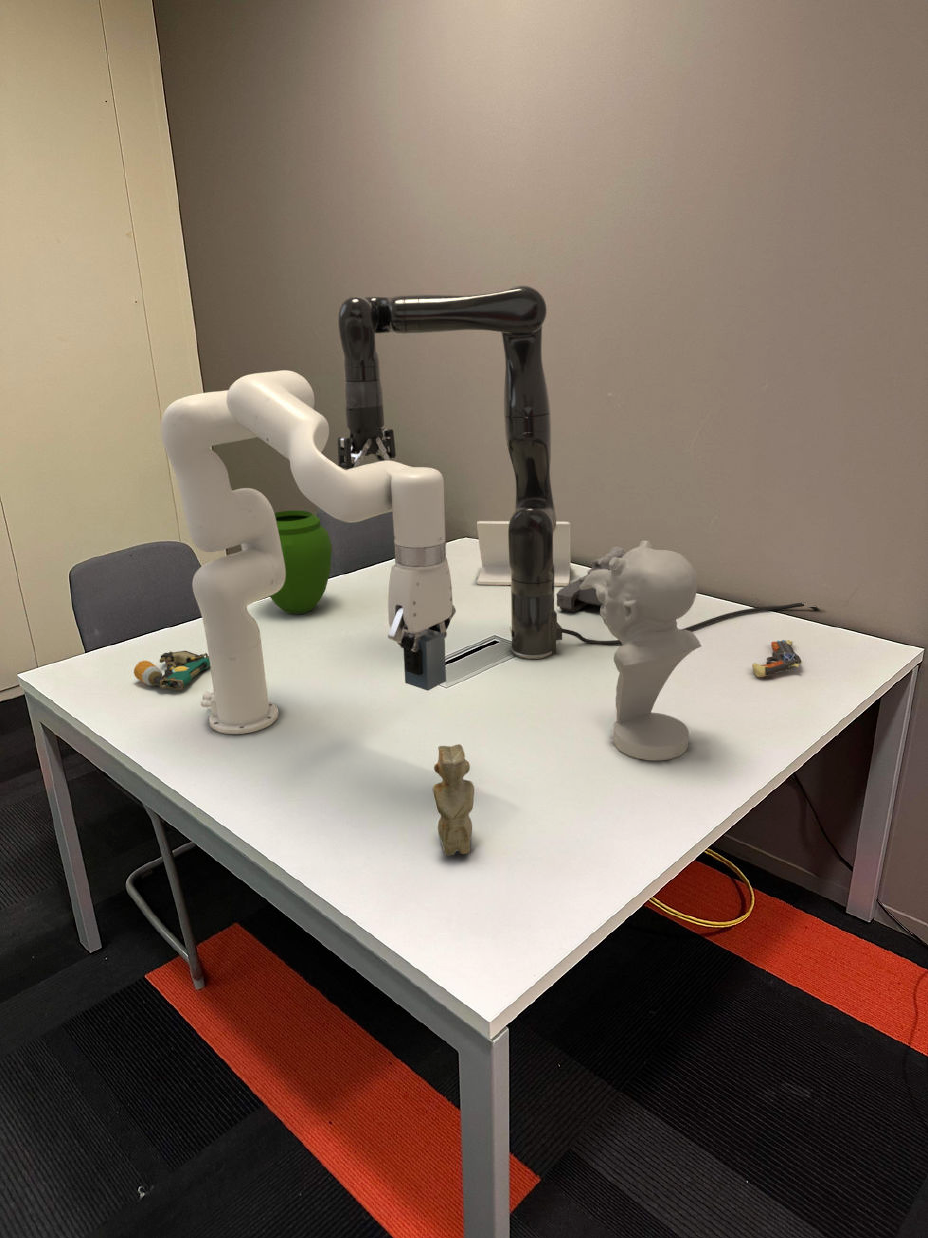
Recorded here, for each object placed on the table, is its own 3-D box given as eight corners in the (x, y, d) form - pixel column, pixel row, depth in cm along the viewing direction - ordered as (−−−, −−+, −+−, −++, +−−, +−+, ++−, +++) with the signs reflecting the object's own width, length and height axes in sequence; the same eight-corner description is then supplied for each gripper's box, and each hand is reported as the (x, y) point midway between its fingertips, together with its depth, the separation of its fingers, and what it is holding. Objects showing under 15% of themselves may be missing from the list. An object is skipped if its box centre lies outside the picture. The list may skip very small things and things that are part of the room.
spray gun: (177, 659, 191) (231, 671, 185) (120, 684, 176) (176, 698, 171) (176, 641, 190) (230, 653, 184) (118, 665, 175) (174, 678, 169)
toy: (603, 584, 229) (605, 530, 224) (673, 597, 218) (677, 540, 213) (555, 612, 210) (556, 553, 205) (630, 627, 199) (633, 566, 194)
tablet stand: (569, 585, 229) (570, 524, 223) (476, 584, 232) (475, 523, 226) (570, 566, 246) (571, 508, 240) (484, 564, 249) (483, 507, 243)
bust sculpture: (625, 695, 166) (632, 519, 153) (713, 748, 146) (730, 550, 133) (556, 715, 159) (558, 532, 146) (639, 773, 139) (650, 567, 127)
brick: (423, 673, 136) (421, 626, 133) (446, 681, 133) (444, 633, 130) (404, 683, 132) (402, 635, 130) (428, 691, 130) (426, 642, 127)
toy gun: (755, 668, 170) (808, 665, 168) (743, 639, 188) (791, 635, 186) (755, 681, 171) (808, 678, 169) (744, 650, 189) (791, 647, 187)
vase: (352, 603, 220) (345, 511, 212) (301, 627, 205) (291, 529, 197) (296, 592, 230) (287, 503, 222) (243, 614, 215) (231, 520, 206)
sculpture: (474, 829, 125) (472, 739, 120) (477, 859, 119) (474, 765, 113) (434, 831, 125) (430, 741, 120) (435, 861, 119) (431, 767, 113)
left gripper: (438, 536, 134) (441, 644, 140) (361, 563, 121) (368, 679, 128) (475, 544, 129) (477, 655, 136) (399, 572, 117) (405, 692, 123)
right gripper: (374, 398, 177) (379, 476, 183) (324, 406, 167) (331, 488, 173) (401, 400, 173) (406, 480, 179) (352, 408, 163) (358, 492, 168)
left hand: (424, 665), depth 132 cm, fingers closed on brick, 4 cm apart
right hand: (369, 484), depth 176 cm, fingers open, 8 cm apart
